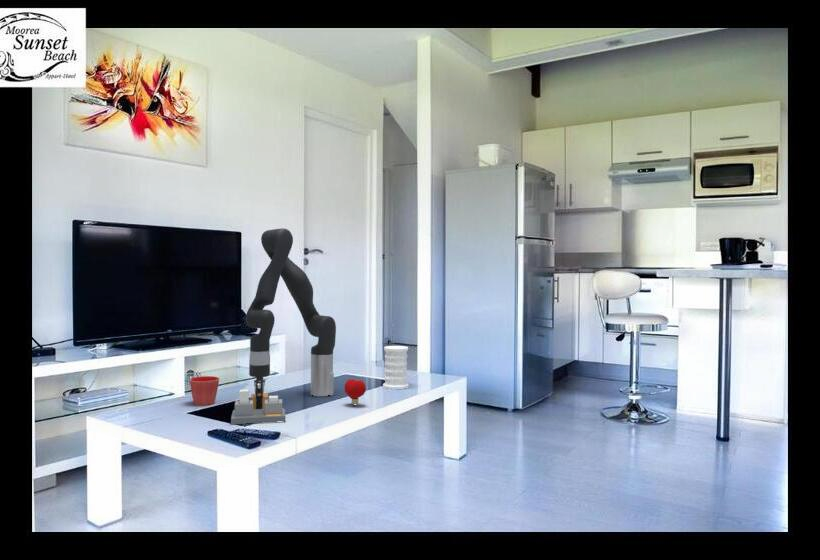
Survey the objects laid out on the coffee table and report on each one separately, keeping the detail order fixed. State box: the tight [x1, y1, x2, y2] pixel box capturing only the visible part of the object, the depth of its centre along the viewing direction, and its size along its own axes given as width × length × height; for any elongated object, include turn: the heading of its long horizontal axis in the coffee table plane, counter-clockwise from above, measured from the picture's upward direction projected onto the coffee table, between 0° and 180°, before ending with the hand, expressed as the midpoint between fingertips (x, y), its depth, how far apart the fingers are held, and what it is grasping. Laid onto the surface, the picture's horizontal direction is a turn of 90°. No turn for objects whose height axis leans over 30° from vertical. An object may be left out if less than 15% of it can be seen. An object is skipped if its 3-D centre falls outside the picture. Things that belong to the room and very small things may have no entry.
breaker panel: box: [230, 398, 286, 425], centre depth 208 cm, size 18×12×6 cm, turn 103°
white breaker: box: [268, 395, 279, 403], centre depth 209 cm, size 3×3×6 cm
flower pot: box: [189, 375, 220, 406], centre depth 230 cm, size 11×11×10 cm
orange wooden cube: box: [250, 392, 269, 409], centre depth 220 cm, size 6×6×6 cm
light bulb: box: [343, 378, 367, 405], centre depth 229 cm, size 9×7×10 cm
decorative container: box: [382, 345, 409, 388], centre depth 266 cm, size 12×12×18 cm
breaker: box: [238, 389, 250, 404], centre depth 206 cm, size 3×3×6 cm
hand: (259, 407), depth 220 cm, fingers closed on orange wooden cube, 6 cm apart
